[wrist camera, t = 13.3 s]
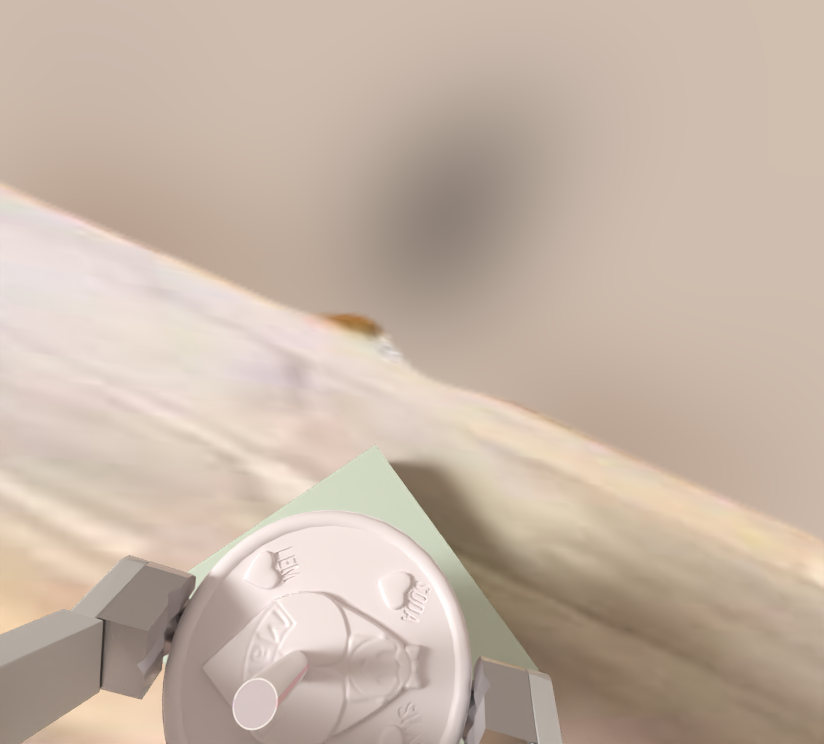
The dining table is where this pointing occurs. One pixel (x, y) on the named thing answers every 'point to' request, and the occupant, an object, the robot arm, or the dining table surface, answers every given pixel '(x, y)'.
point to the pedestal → (394, 504)
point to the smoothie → (320, 641)
